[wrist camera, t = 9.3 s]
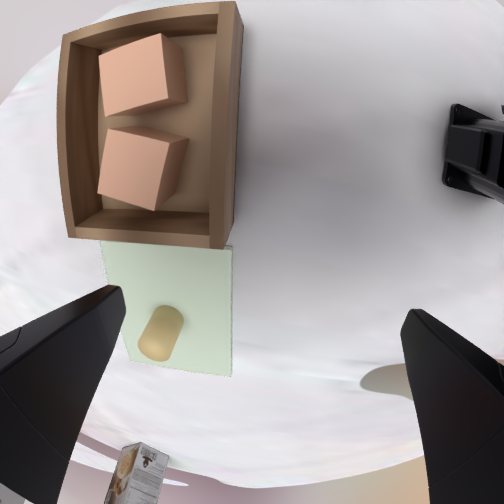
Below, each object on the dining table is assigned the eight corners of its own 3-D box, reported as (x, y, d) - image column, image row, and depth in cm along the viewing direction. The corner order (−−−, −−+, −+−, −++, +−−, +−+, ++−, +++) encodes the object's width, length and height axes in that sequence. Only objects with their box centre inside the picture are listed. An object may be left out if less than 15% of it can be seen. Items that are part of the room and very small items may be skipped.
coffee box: (148, 461, 44) (131, 523, 29) (121, 447, 42) (100, 510, 28) (170, 456, 40) (152, 528, 26) (140, 441, 39) (116, 515, 24)
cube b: (189, 138, 17) (169, 143, 14) (174, 193, 19) (154, 211, 16) (136, 125, 17) (108, 128, 14) (125, 179, 19) (97, 193, 15)
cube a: (181, 47, 14) (160, 33, 11) (188, 101, 16) (168, 98, 13) (127, 63, 15) (98, 55, 12) (133, 115, 17) (105, 116, 13)
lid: (233, 243, 22) (222, 278, 17) (232, 368, 28) (225, 408, 23) (106, 235, 22) (73, 263, 18) (134, 353, 28) (116, 387, 24)
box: (243, 26, 14) (235, 1, 10) (233, 222, 20) (223, 249, 16) (98, 44, 15) (62, 35, 11) (100, 215, 21) (68, 237, 17)
